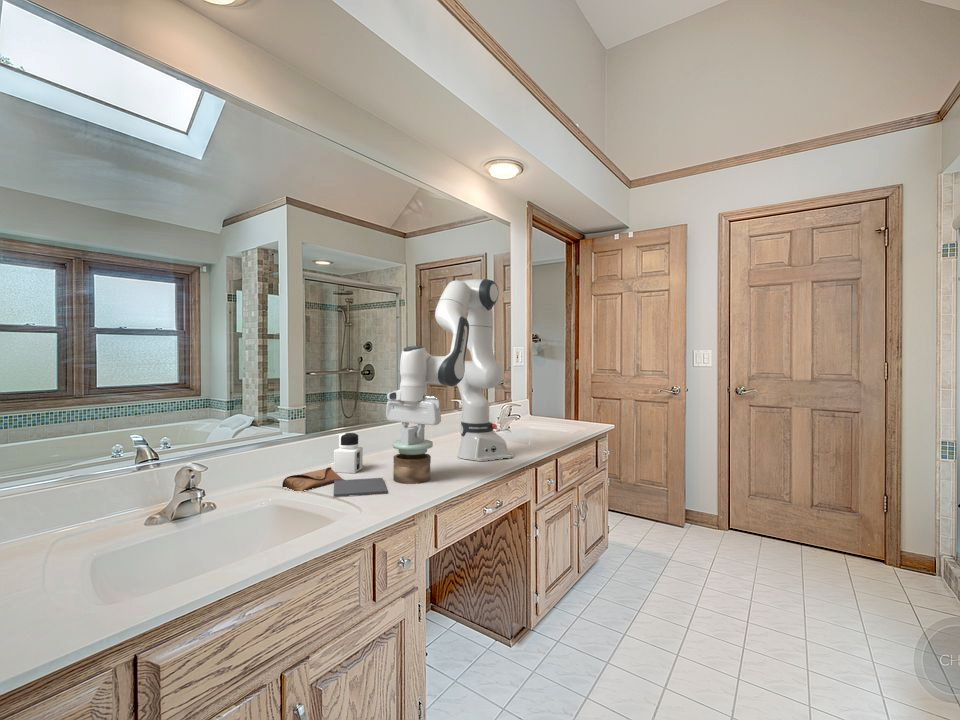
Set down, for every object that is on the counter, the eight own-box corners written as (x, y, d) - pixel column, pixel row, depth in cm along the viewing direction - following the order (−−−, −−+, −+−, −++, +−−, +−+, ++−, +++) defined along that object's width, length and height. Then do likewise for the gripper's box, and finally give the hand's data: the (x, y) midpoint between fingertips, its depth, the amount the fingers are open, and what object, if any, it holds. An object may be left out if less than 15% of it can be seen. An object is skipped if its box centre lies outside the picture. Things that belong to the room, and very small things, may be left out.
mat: (382, 480, 149) (382, 477, 149) (386, 493, 135) (386, 490, 135) (334, 483, 145) (334, 480, 145) (333, 497, 131) (333, 494, 131)
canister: (426, 473, 159) (426, 451, 159) (433, 482, 148) (433, 459, 148) (391, 475, 156) (391, 453, 156) (395, 484, 144) (395, 461, 144)
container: (362, 468, 165) (363, 432, 165) (354, 473, 157) (355, 435, 157) (341, 467, 165) (342, 431, 165) (333, 472, 158) (333, 435, 158)
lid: (409, 446, 161) (409, 423, 161) (440, 450, 155) (440, 426, 154) (384, 453, 149) (384, 428, 149) (417, 457, 143) (417, 432, 143)
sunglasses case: (299, 493, 134) (292, 471, 136) (286, 501, 137) (279, 480, 139) (347, 480, 149) (340, 461, 151) (334, 488, 152) (328, 469, 154)
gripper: (445, 395, 150) (444, 438, 150) (395, 392, 159) (394, 432, 159) (434, 397, 144) (433, 441, 144) (383, 394, 154) (383, 435, 154)
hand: (413, 436), depth 152 cm, fingers closed on lid, 3 cm apart
